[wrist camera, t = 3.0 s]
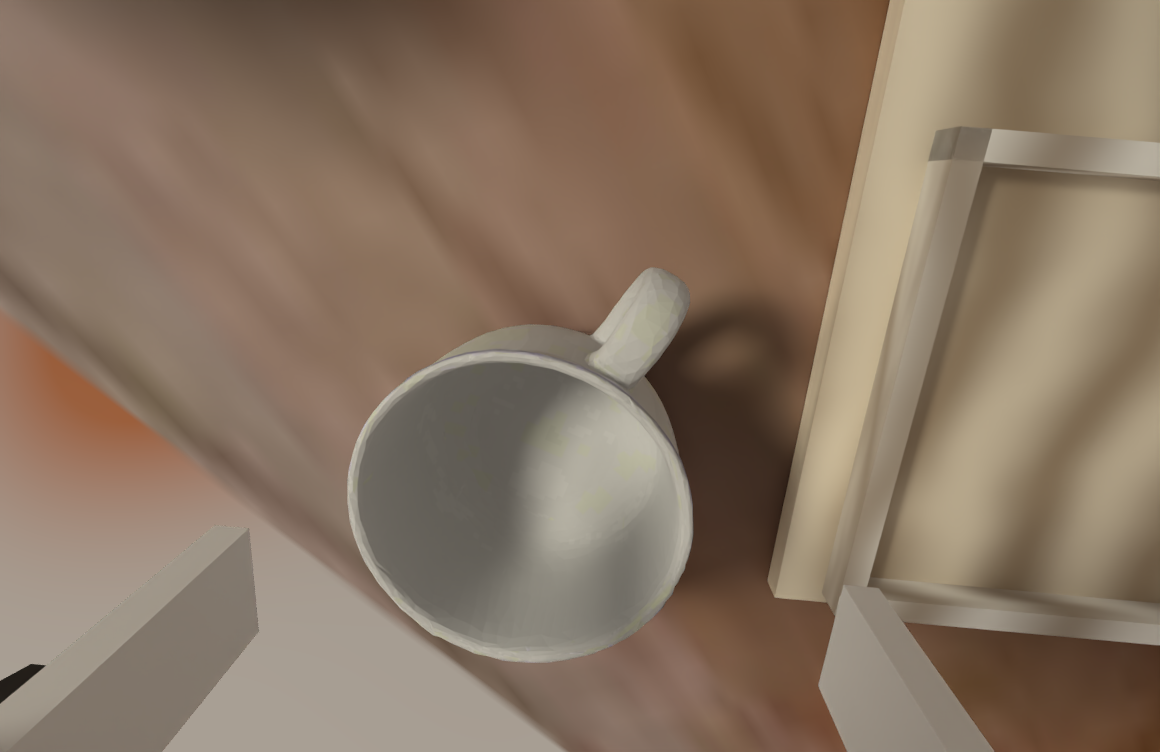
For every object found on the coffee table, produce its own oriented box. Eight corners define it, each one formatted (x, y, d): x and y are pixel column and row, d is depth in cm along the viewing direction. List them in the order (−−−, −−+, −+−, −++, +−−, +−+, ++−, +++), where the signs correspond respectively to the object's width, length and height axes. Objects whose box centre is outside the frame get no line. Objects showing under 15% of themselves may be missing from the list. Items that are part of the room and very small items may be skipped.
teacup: (549, 574, 28) (530, 721, 20) (367, 426, 26) (268, 526, 18) (776, 372, 24) (856, 455, 17) (586, 183, 22) (579, 179, 15)
